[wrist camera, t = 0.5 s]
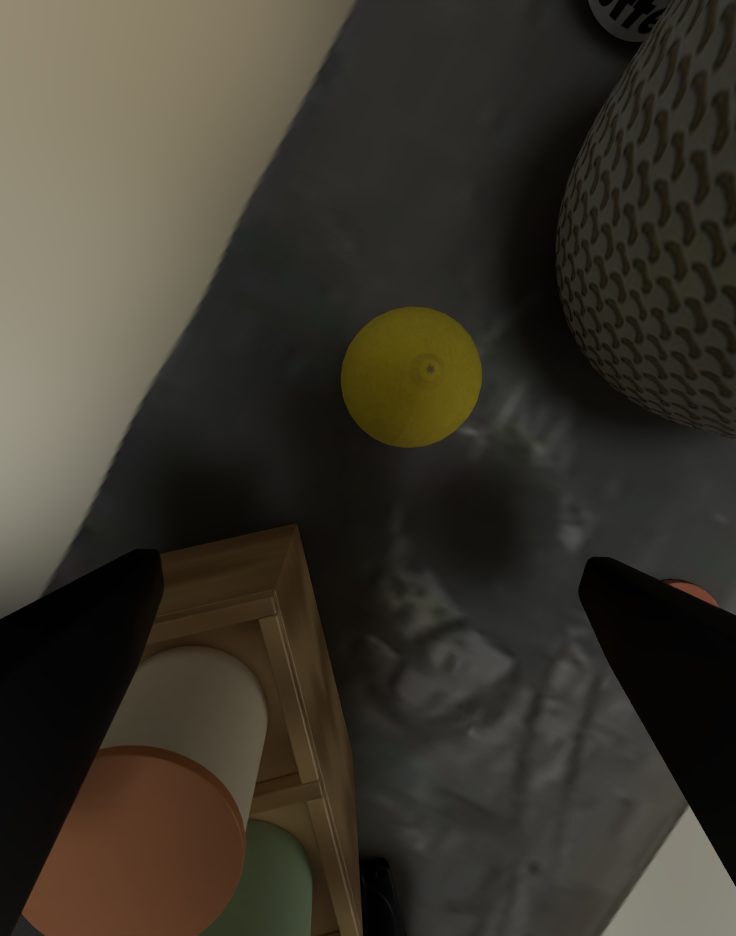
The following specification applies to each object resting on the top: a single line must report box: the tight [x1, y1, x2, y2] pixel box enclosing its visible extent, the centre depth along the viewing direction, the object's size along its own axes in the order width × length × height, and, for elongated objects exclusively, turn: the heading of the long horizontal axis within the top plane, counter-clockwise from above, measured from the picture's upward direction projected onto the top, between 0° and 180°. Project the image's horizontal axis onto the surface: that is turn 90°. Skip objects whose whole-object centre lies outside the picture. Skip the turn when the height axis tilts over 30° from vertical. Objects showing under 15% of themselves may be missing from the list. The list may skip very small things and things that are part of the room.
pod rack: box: [138, 523, 363, 936], centre depth 18 cm, size 13×7×9 cm, turn 12°
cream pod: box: [22, 646, 269, 936], centre depth 12 cm, size 5×5×5 cm
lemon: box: [341, 307, 482, 448], centre depth 18 cm, size 6×6×8 cm
